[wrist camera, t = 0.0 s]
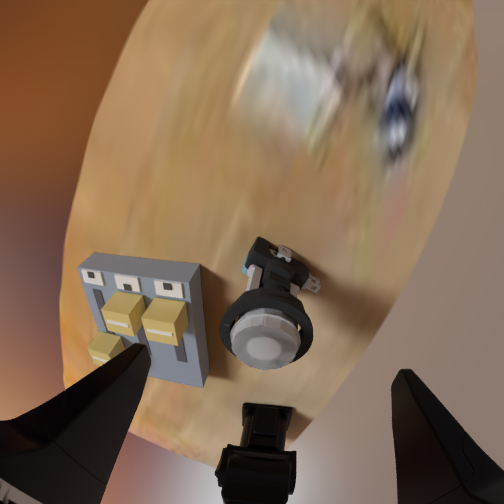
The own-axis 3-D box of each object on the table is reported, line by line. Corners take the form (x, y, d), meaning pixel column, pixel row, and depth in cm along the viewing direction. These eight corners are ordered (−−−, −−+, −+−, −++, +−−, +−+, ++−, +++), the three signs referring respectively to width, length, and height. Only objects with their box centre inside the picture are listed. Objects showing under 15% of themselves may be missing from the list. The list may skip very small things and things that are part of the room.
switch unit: (209, 368, 31) (202, 390, 28) (123, 350, 33) (112, 368, 30) (199, 264, 25) (187, 284, 22) (94, 252, 26) (75, 268, 23)
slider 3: (188, 323, 24) (177, 346, 22) (159, 318, 24) (146, 340, 22) (185, 301, 23) (173, 324, 20) (154, 297, 23) (140, 318, 21)
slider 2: (126, 352, 28) (115, 371, 25) (106, 346, 28) (94, 364, 26) (120, 336, 27) (108, 355, 24) (99, 331, 27) (86, 348, 24)
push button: (334, 257, 23) (353, 345, 14) (301, 302, 25) (300, 394, 17) (262, 218, 22) (239, 294, 14) (234, 270, 25) (202, 356, 16)
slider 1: (147, 316, 25) (134, 337, 22) (122, 311, 25) (107, 331, 22) (142, 295, 23) (127, 315, 21) (116, 290, 24) (100, 309, 21)
